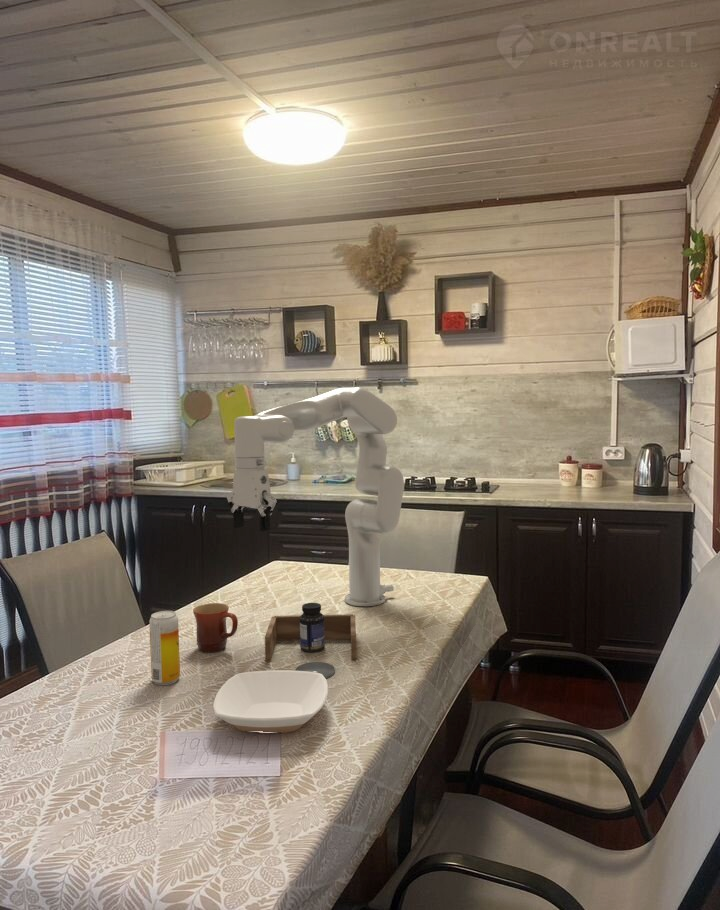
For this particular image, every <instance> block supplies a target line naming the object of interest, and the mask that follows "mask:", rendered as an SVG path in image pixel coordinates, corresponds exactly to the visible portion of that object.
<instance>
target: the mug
mask: <svg viewBox="0 0 720 910" xmlns="http://www.w3.org/2000/svg"><path fill="white" fill-rule="evenodd" d="M229 606H230V605H228V604H226V603H220V602H210V603H204V604H200V605H197V606H195V607H194V608H193V611H192V612H193V615H194V617H195V622H196V645H197V648H198V649H199V651H202V652H204V653H217V652H220V651H222V650H223V649H224V648H226V646H227V643H228V639H229V638H231V637H233V636H234V635H235V634H236V632H237V629H238V627H239V625H238V624H239V620H238V616H237V615H236V614H234V613H232V612H229V609H230V607H229ZM228 618H230V619H231V620H232V621H231V622H232V627H231V631H230V632H228V628H227V619H228Z"/></svg>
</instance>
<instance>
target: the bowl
mask: <svg viewBox="0 0 720 910" xmlns="http://www.w3.org/2000/svg"><path fill="white" fill-rule="evenodd" d="M328 695H329V685H328V681H327V678H326V679H325V677H324V676H323V675H322V674H320V673H314V672H308V671H295V670H287V669H286V670H285V669H276V670H274V669H273V670H270V669H269V670H257V671H256V670H254V671H246V672H239V673H236V674H235V675H233V676H231V677H230V678H228V679H227V680H226V681H225V682H224V683H223V685H221V686H220V688H219V689H218V691H217V692H216V696H215V698H214V700H213V706H212V707H213V708H212V710H213V712H214V715H215V717H216V716H217V717H218V718H220V719H221V720H223V721H224V722H226V723H228V724H230V725H231V726H232V727H234V728H236V729H238V730H239V731H242V732H245V731H263V732H281V733H280V734H282V733H284V734H285V733H292V732H295V731H298V730H299V729H300V728H301V727H303V725H305V723H307V722H308V721H310V720H311V719H312V718H313V717H314V716H315V715H316V714H317V713H318V712H319V711H321V709H323V707H324V705H325V703H326V700H327V698H328Z"/></svg>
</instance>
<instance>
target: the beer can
mask: <svg viewBox="0 0 720 910" xmlns="http://www.w3.org/2000/svg"><path fill="white" fill-rule="evenodd" d="M179 632H180V631H179V616H178V615H177V613H176V611H173V610H160V611H156V612H154V613H152V614H151V615H150V619H149V642H150V644H149V645H150V647H149V648H150V669H151V671H150V673H151V675H150V676H151V681H152V682H154V684H155V685H159V686H167V685H172V684H174V683H176V682H177V681H178V679H179V678H180V676H181V664H180V663H181V662H180V658H181V657H180V638H179V637H180V636H179V635H180V634H179Z"/></svg>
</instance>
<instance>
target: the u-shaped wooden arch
mask: <svg viewBox="0 0 720 910" xmlns="http://www.w3.org/2000/svg"><path fill="white" fill-rule="evenodd" d="M301 615H302V614H301ZM301 615H300V614H299V615H273V616H271V617H270V621H269V624H268V626H267V630H266V633H265V635H264V650H265V651H264V653H265V655H264V658H265V659H264V660H265V663H266V662H271V661H272V658H273V653H274V651H275V647H276V643H277V641H284V640H285V641H288V640H291V641H294V640H300V616H301ZM323 616H324V635H325V640H334V639H335V640H338V639H339V640H340V639H341V640H343V639H344V640H345V639H350V660H351V661H356V660H357V630H356V629H357V627H356V626H357V624H356V615H355V614H352V613H351V614H348V613H347V614H323Z"/></svg>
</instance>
